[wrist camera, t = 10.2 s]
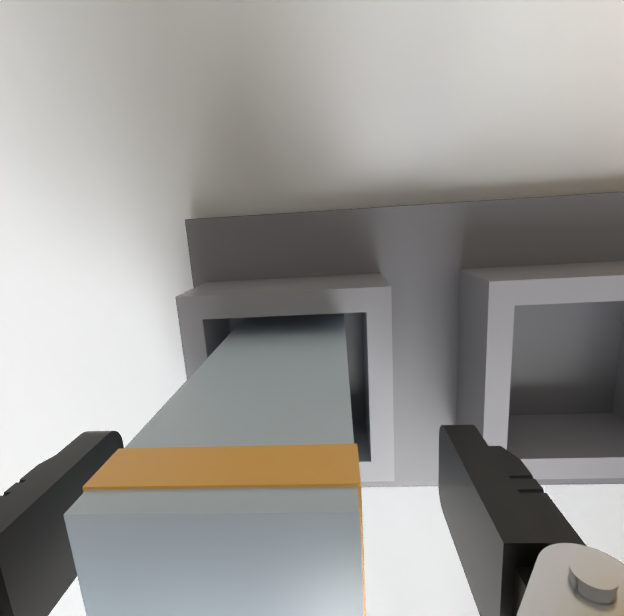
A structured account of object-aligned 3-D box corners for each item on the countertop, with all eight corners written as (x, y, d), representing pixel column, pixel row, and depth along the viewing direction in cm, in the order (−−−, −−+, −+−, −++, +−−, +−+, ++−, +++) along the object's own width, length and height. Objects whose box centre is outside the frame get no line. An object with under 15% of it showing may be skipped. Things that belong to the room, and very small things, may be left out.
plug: (345, 311, 16) (363, 508, 5) (349, 405, 17) (371, 742, 6) (244, 315, 16) (58, 511, 5) (253, 407, 17) (111, 734, 6)
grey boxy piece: (654, 190, 15) (766, 180, 11) (619, 469, 18) (700, 540, 14) (194, 219, 16) (149, 219, 12) (225, 475, 19) (196, 541, 15)
